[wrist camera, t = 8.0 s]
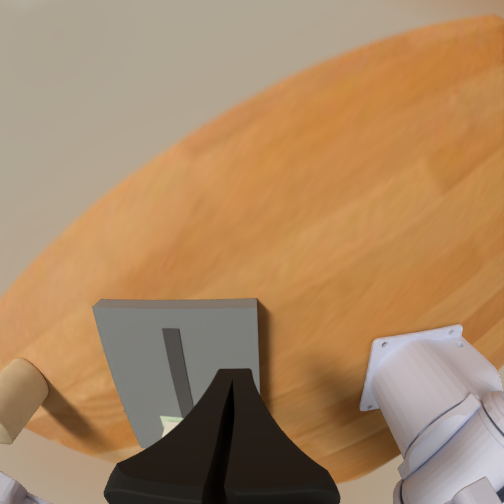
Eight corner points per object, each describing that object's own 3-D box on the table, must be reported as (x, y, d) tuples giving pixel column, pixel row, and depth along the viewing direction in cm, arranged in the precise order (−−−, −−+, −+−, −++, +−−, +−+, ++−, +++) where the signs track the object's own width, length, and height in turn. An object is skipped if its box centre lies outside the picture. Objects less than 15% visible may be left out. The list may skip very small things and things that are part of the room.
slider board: (256, 298, 21) (257, 308, 19) (261, 443, 25) (261, 455, 23) (100, 299, 21) (91, 307, 19) (144, 437, 25) (140, 448, 23)
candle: (51, 404, 24) (11, 462, 15) (16, 383, 24) (-27, 432, 14) (47, 371, 23) (-3, 431, 13) (10, 348, 23) (-43, 398, 13)
